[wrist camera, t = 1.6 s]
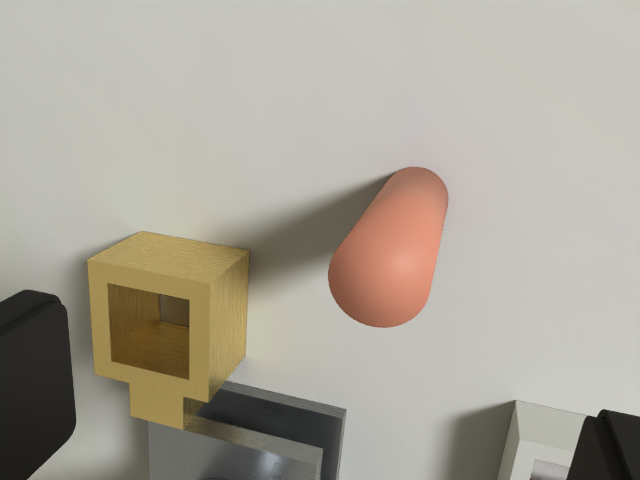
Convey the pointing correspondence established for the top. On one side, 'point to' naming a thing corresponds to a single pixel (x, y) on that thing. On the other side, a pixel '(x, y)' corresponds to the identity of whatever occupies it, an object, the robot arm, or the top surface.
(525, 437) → the pipe rack
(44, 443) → the robot arm
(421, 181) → the pin
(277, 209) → the top surface
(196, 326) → the yellow and grey fixture
